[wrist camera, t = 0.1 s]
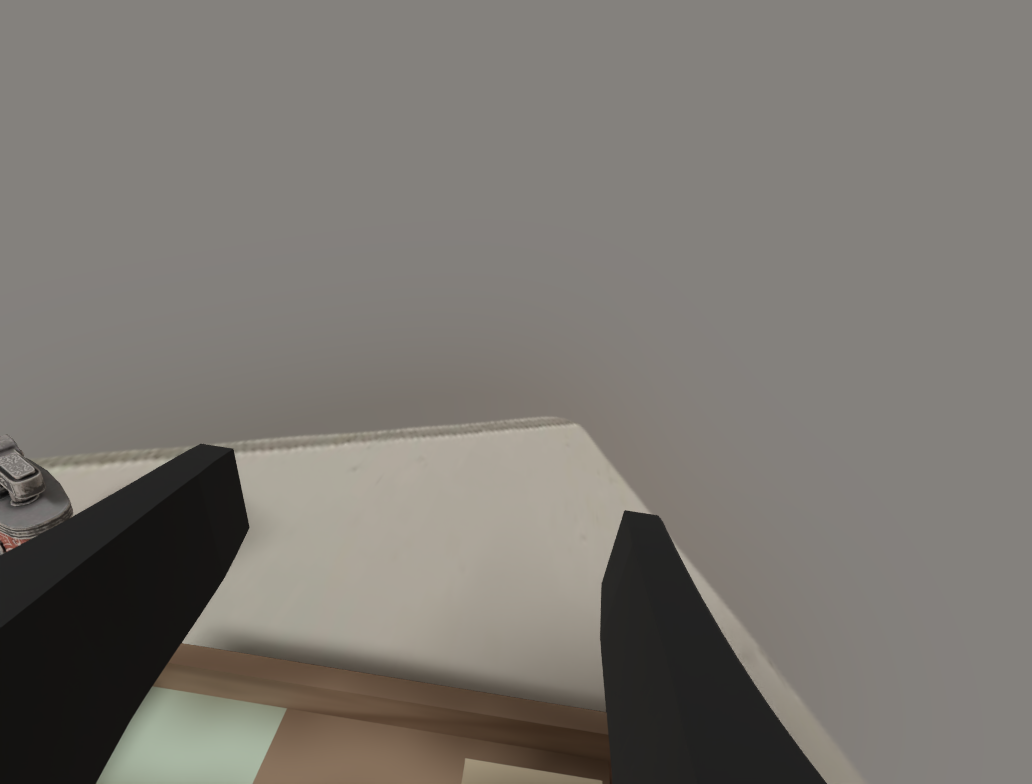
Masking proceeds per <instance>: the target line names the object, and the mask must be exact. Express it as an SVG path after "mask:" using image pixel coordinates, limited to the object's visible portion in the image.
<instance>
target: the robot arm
mask: <svg viewBox="0 0 1032 784" xmlns="http://www.w3.org/2000/svg"><path fill="white" fill-rule="evenodd" d="M248 530H249V523H248V518H247V513H246V508H245V504H244V499H243V494H242V489H241V484H240V479H239V474H238V469H237V464H236V460H235V455H234V450H233V449H231V448H225V447H218V446H212V445H206V444H199V445H198V446H196V447H194V448H192V449H190V450H188V451H186V452H184V453H183V454H181V455H179V456H177V457H176V458H174V459H172V460H170V461H169V462H167V463H165V464H163V465H162V466H160V467H158V468H156V469H155V470H153V471H151V472H150V473H148V474H146V475H145V476H143V477H141V478H139V479H138V480H136V481H134V482H133V483H131V484H129V485H127V486H126V487H124V488H122V489H120V490H119V491H117V492H115V493H113V494H112V495H110V496H108V497H106V498H105V499H103V500H101V501H99V502H98V503H96V504H94V505H92V506H91V507H89V508H87V509H85V510H84V511H82V512H80V513H78V514H77V515H75V516H73V517H71V518H70V519H68V520H66V521H64V522H62V523H60V524H58V525H56V526H54V527H53V528H51V529H49V530H47V531H45V532H43V533H41V534H39V535H38V536H36V537H34V538H32V539H30V540H28V541H26V542H24V543H22V544H21V545H19V546H17V547H15V548H13V549H11V550H9V551H7V552H6V553H4V554H2V555H0V784H96V783H97V781H98V779H99V777H100V775H101V773H102V772H103V770H104V768H105V766H106V764H107V762H108V761H109V759H110V757H111V755H112V753H113V752H114V750H115V748H116V746H117V744H118V742H119V741H120V739H121V737H122V735H123V733H124V732H125V730H126V728H127V726H128V724H129V723H130V721H131V719H132V718H133V716H134V714H135V713H136V711H137V710H138V708H139V706H140V705H141V703H142V701H143V700H144V698H145V697H146V695H147V694H148V692H149V691H150V689H151V688H152V686H153V685H154V683H155V682H156V680H157V679H158V677H159V676H160V674H161V673H162V671H163V670H164V668H165V667H166V665H167V664H168V662H169V661H170V659H171V658H172V656H173V655H174V653H175V652H176V650H177V649H178V647H179V646H180V644H181V643H182V641H183V640H184V638H185V637H186V635H187V634H188V632H189V631H190V629H191V628H192V626H193V625H194V624H195V622H196V621H197V619H198V618H199V616H200V615H201V613H202V611H203V610H204V608H205V607H206V605H207V604H208V602H209V601H210V599H211V598H212V596H213V595H214V593H215V592H216V590H217V589H218V587H219V586H220V584H221V582H222V581H223V579H224V578H225V576H226V574H227V572H228V570H229V568H230V566H231V564H232V562H233V560H234V558H235V557H236V555H237V552H238V550H239V548H240V546H241V544H242V542H243V540H244V538H245V536H246V534H247V532H248ZM600 641H601V654H602V666H603V678H604V690H605V701H606V713H607V724H608V735H609V747H610V758H611V770H612V784H827V783H826V782H825V780H824V779H823V778H822V777H821V775H820V774H819V773H818V771H817V770H816V769H815V768H814V766H813V765H812V764H811V762H810V761H809V760H808V758H807V757H806V756H805V755H804V753H803V752H802V751H801V749H800V748H799V746H798V745H797V744H796V742H795V741H794V740H793V738H792V737H791V736H790V734H789V733H788V731H787V730H786V729H785V727H784V726H783V725H782V723H781V722H780V720H779V719H778V718H777V716H776V715H775V713H774V712H773V710H772V709H771V708H770V706H769V705H768V703H767V702H766V700H765V699H764V697H763V696H762V694H761V693H760V691H759V690H758V688H757V687H756V686H755V684H754V682H753V681H752V679H751V678H750V676H749V675H748V673H747V672H746V670H745V669H744V667H743V665H742V664H741V662H740V661H739V659H738V658H737V656H736V655H735V653H734V651H733V650H732V648H731V646H730V645H729V643H728V641H727V640H726V638H725V637H724V635H723V633H722V632H721V630H720V628H719V626H718V625H717V623H716V621H715V619H714V618H713V616H712V614H711V613H710V611H709V609H708V607H707V606H706V604H705V602H704V601H703V599H702V597H701V595H700V593H699V592H698V590H697V588H696V586H695V584H694V582H693V581H692V579H691V577H690V575H689V573H688V571H687V569H686V567H685V565H684V564H683V562H682V560H681V558H680V556H679V554H678V552H677V550H676V548H675V546H674V544H673V542H672V540H671V538H670V536H669V534H668V532H667V530H666V528H665V525H664V523H663V521H662V520H661V519H660V518H659V516H657V515H651V514H645V513H638V512H632V511H626V510H625V511H624V514H623V517H622V520H621V523H620V527H619V530H618V533H617V536H616V539H615V543H614V546H613V549H612V552H611V555H610V559H609V562H608V565H607V568H606V571H605V575H604V578H603V581H602V588H601V628H600Z"/></svg>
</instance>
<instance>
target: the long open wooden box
mask: <svg viewBox="0 0 1032 784" xmlns="http://www.w3.org/2000/svg"><path fill="white" fill-rule="evenodd" d="M465 758H467V759H473V760H479V761H485V762H491V763H497V764H503V765H509V766H515V767H521V768H528V769H534V770H540V771H546V772H552V773H558V774H564V775H570V776H576V777H582V778H588V779H594V780H601V781H602V784H612V770H611V758H610V747H609V735H608V724H607V713H606V712H601V711H595V710H589V709H582V708H576V707H570V706H564V705H558V704H552V703H546V702H539V701H533V700H527V699H521V698H515V697H509V696H503V695H496V694H490V693H484V692H478V691H472V690H466V689H460V688H453V687H447V686H441V685H435V684H429V683H423V682H417V681H410V680H404V679H398V678H392V677H386V676H380V675H374V674H367V673H361V672H355V671H349V670H343V669H337V668H331V667H325V666H318V665H312V664H306V663H300V662H294V661H288V660H282V659H275V658H269V657H263V656H257V655H251V654H245V653H239V652H232V651H226V650H220V649H214V648H208V647H202V646H196V645H189V644H183V643H181V644H180V646H179V647H178V649H177V650H176V652H175V653H174V655H173V656H172V658H171V659H170V661H169V662H168V664H167V665H166V667H165V668H164V670H163V671H162V673H161V674H160V676H159V677H158V679H157V680H156V682H155V683H154V685H153V686H152V688H151V689H150V691H149V692H148V694H147V695H146V697H145V698H144V700H143V701H142V703H141V705H140V706H139V708H138V710H137V711H136V713H135V714H134V716H133V718H132V719H131V721H130V723H129V724H128V726H127V728H126V730H125V732H124V733H123V735H122V737H121V739H120V741H119V742H118V744H117V746H116V748H115V750H114V752H113V753H112V755H111V757H110V759H109V761H108V762H107V764H106V766H105V768H104V770H103V772H102V773H101V775H100V777H99V779H98V781H97V783H96V784H461V783H462V777H463V771H464V764H465Z"/></svg>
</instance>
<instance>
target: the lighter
mask: <svg viewBox="0 0 1032 784" xmlns="http://www.w3.org/2000/svg"><path fill="white" fill-rule="evenodd" d="M72 516H73V509H72V506H71V503H70V500H69V498H68V496H67V494H66V493H65V491H64V489H63V488H62V486H61V484H60V483H59V482H58V481H57V480H56V479H55V478H54V477H53V476H52V475H51V474H50V473H49V472H48V471H47V470H45V469H44V468H42V467H41V466H39V465H37V464H36V463H34V462H33V461H31V460H29V459H27V458H24V454H23V452H22V451H21V450H20V449H19V448H18V446H17V445H16V443H15V441H14V440H13V439H12V438H11V437H10V436H9V435H7V434H6V435H3V436H0V555H2V554H4V553H6V552H7V551H9V550H11V549H13V548H15V547H17V546H19V545H21V544H22V543H24V542H26V541H28V540H30V539H32V538H34V537H36V536H38V535H39V534H41V533H43V532H45V531H47V530H49V529H51V528H53V527H54V526H56V525H58V524H60V523H62V522H64V521H66V520H68V519H70V518H71V517H72Z"/></svg>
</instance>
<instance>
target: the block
mask: <svg viewBox="0 0 1032 784" xmlns="http://www.w3.org/2000/svg"><path fill="white" fill-rule="evenodd" d="M461 784H602V781H601V780H594V779H588V778H582V777H576V776H570V775H564V774H558V773H552V772H546V771H540V770H534V769H528V768H521V767H515V766H509V765H503V764H497V763H491V762H485V761H479V760H473V759H467V758H465V764H464V771H463V777H462V783H461Z"/></svg>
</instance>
